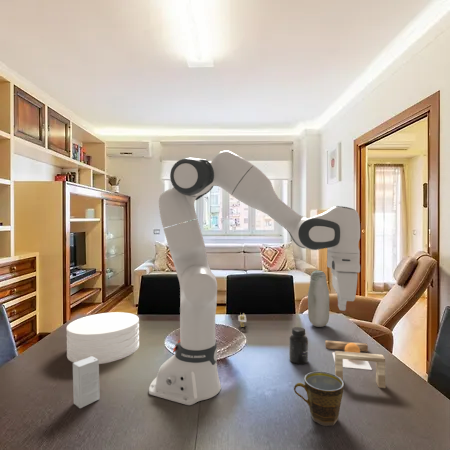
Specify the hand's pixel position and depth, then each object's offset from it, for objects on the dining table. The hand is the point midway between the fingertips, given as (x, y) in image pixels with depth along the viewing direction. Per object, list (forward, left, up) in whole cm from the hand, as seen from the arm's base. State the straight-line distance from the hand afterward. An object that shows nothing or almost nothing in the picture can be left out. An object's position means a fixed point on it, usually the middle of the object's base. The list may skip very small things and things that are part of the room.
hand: (341, 309), depth 88 cm
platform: (-40, +55, -27) cm, 73 cm away
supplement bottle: (-12, +23, -27) cm, 37 cm away
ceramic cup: (-7, -10, -27) cm, 30 cm away
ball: (+8, +30, -24) cm, 39 cm away
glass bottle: (-2, +64, -27) cm, 69 cm away
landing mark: (+7, +27, -27) cm, 38 cm away
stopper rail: (+7, +38, -27) cm, 47 cm away
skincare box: (-73, -17, -27) cm, 80 cm away
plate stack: (-92, +17, -27) cm, 97 cm away
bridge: (+7, +11, -27) cm, 30 cm away
